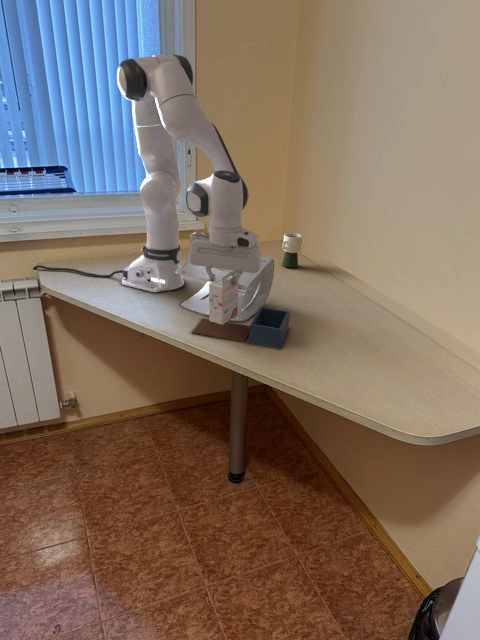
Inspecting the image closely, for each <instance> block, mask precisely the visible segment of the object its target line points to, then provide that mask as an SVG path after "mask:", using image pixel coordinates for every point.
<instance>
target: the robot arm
mask: <svg viewBox="0 0 480 640" xmlns="http://www.w3.org/2000/svg"><path fill="white" fill-rule="evenodd" d="M116 79H117V80H116V81H117V86H118V88H119V91H120V94H121V95H122V97H124V98H125V100H127V101H130V102H132V119H133V125H134V131H135V138H136V144H137V149H138V150H137V151H138V155H139V157H140V158H141V160H142V164H143V167H144V170H145V175H146V178H144V180H143V181H142V183H141V186H140V189H139V190H140V191H139V197H140V201H141V203H142V209H143V214H144V219H145V225H146V227H145V228H146V243H145V244H144V245H143V246H142V247H141V248H140V252H141V253H143V254H142V255H140V256H138V257H137V258H136V259H135V260H134V261H132V262H130V264H129V265H127V266H125V268H124V269H119V270H115V271H113V272H111V273H109V274H97V273H92V272H87V271H83V270H80V269H75V268H70V267H69V268H68V267H51V266H47V265H46V266H45V265H42V264H39V265H38V264H37V265H35V266H34V267H33V268H32V270H37V269H38V268H40V269H44V270H48V271H68V272H75V273H79V274H82V275H86V276H91V277H96V278H113V276H114V275H116V274H122V279H121V285H123V286H126V287H132V288H135V289H139V290H142V291H146V292H150V293H160V292H165V291H173V290H177V289H179V288H182V287H183V286H184V285H185V281H184V278H183V275H180V274H177V273H175V271H176V270H177V269H179V268H180V267H181V260H182V259H181V258H182V252H181V245H180V226H179V225H180V222H179V220H178V219H179V218H178V214H177V197H178V196H179V195H180V193H181V190H182V181H181V177H180V172H179V166H178V163H177V159H176V156H175V151H174V145H173V139H174V140H177V141H179V142H182V143H185V144H189V145H191V146H194V147H196V148H198V149H200V150H201V151H202V152H204V154H205V155H206V157H208V159H209V162H210V163H211V166H212V167H213V170H214V172H213V173H212V174H211V175H210V176H209V177H207V178H204V179H200V180H196V181H193V182H192V183H190V185H189V186H188V187H187V190H186V193H185V202H186V207H187V209H188V211H189V212H190V213H191V214H192V215H193V216H194V217H199V218H208V219H209V223H208V226H209V227H208V232H200V231H194V232H193V233H190V235H189V245H190V249H189V255H188V261H189V262H190V263H191V264H192V265H197V266H204V267H205V270H206V272H207V274H208V275H209V282H214V281H216V278H215V277H216V275H214V274H213V273H212V270H211V269H212V268H219V269H227V270H234V271H237V274H239V275H238V276H237V278H236V277H234V278H233V279H232V282H233V283H232V285H238V284H239V278H240V276H241V275H242V273H243V272H249V273H256V272H257V271H258V270H259V269H260V267H261V257H262V255H261V254H262V253H261V248H260V246H259V244H258V242H259V235H258V234H257V233H255V232H252V231H251V230H248V229H246V228H244V227H243V221H242V212H243V210H244V209H245V207H246V206H247V203H248V201H249V189H248V186H247V184H246V183H245V181H244V180H243V178H242V177H241V175H240V173H239V171H238V169H237V168H236V166H235V163H234V162H233V159H232V157H231V154H230V152H229V150H228V148H227V146H226V143H225V141H224V140H223V138H222V136H221V133H220V132H219V130H218V128H217V127H216V125H215V124H214V123H213V122H211V121H210V119H208V118H207V116H206V114H205V113H204V112H203V109H202V108H201V106H200V104H199V102H198V99H197V96H196V92H195V90H194V87H193V84H194V70H193V68H192V65H191V63H190V61H189V60H188V58H187V57H185V56H183V55H179V54H173V55H166V54H154V55H153V54H152V55H149V56H142V57H138V58H128V59H127V58H126V59H125V60H122V61H121V62H119V64H118V66H117V69H116Z"/></svg>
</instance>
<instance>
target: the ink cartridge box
mask: <svg viewBox="0 0 480 640" xmlns="http://www.w3.org/2000/svg"><path fill="white" fill-rule="evenodd" d="M230 276H233V277H230ZM237 276H238V274H237V271H232V272H230V273H228V274H227V275H225V276H223V277H221V278H219V279H218V280H216V281H214V282H212V283H210V284H209V316H208V317H209V318H208V319H209V321H211V322H215V323H218V324H221V325H223V324H224V323H226V322H229V321H230V319H232V318H233V317H235V316H236V315H237V309H238V292H239V289H238V285H232V283H233V282H232V279H233V278H234V277H236V278H237Z"/></svg>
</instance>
